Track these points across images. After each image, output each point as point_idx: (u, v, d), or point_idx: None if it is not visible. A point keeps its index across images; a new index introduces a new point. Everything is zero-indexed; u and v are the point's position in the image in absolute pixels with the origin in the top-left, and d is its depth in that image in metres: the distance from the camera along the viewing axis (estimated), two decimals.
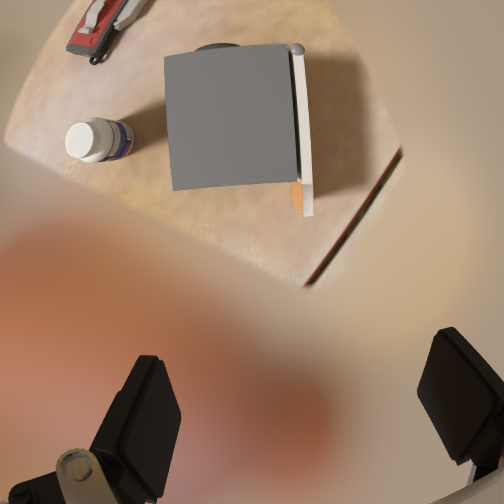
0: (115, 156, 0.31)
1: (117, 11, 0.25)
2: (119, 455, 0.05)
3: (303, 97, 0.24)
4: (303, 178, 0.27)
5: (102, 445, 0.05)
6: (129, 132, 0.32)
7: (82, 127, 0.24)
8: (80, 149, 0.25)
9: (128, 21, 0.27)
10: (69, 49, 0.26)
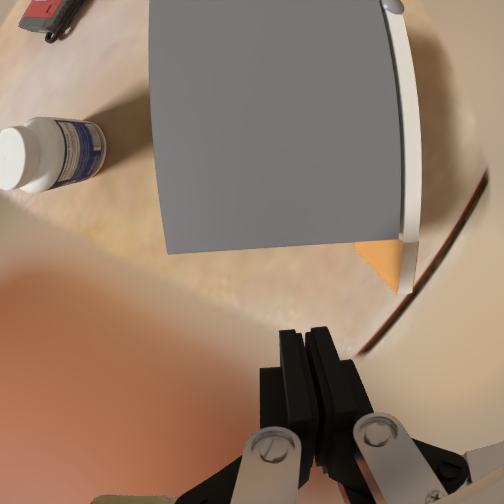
0: (75, 178, 0.18)
1: None
2: None
3: (410, 85, 0.11)
4: (406, 232, 0.14)
5: (298, 414, 0.06)
6: (98, 138, 0.19)
7: (10, 136, 0.11)
8: (9, 174, 0.12)
9: None
10: (21, 24, 0.14)
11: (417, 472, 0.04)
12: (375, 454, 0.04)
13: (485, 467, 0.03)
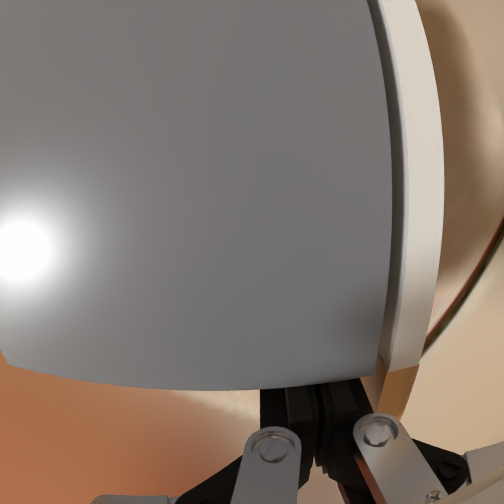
0: None
1: None
2: None
3: (413, 33, 0.04)
4: (396, 355, 0.07)
5: (299, 414, 0.06)
6: None
7: None
8: None
9: None
10: None
11: (417, 472, 0.04)
12: (375, 454, 0.04)
13: (485, 467, 0.03)
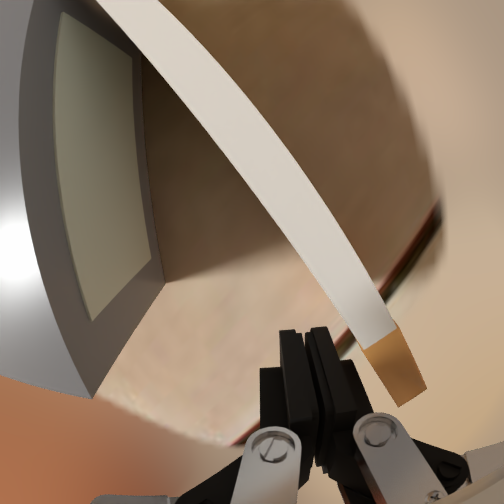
0: None
1: None
2: None
3: (163, 31, 0.04)
4: (359, 333, 0.06)
5: (298, 414, 0.06)
6: None
7: None
8: None
9: None
10: None
11: (417, 472, 0.04)
12: (375, 454, 0.04)
13: (484, 467, 0.03)
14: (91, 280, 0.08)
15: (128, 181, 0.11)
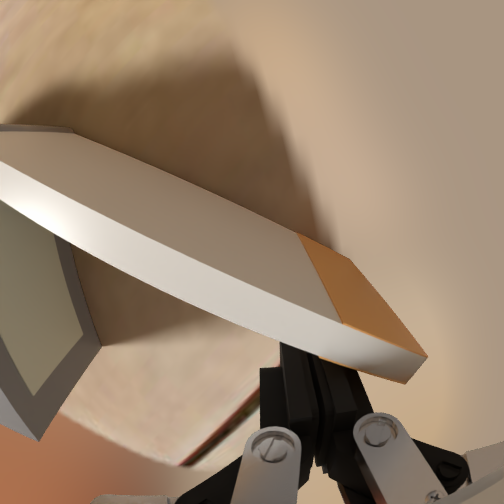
0: None
1: None
2: None
3: (20, 187, 0.05)
4: (303, 344, 0.06)
5: (298, 414, 0.06)
6: None
7: None
8: None
9: None
10: None
11: (417, 472, 0.04)
12: (375, 454, 0.04)
13: (485, 467, 0.03)
14: (30, 369, 0.10)
15: (52, 285, 0.13)
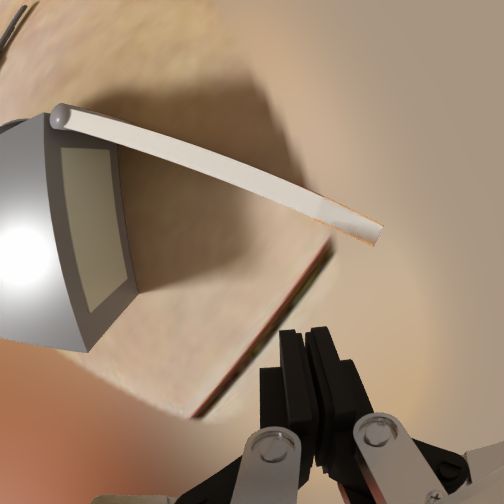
0: None
1: None
2: None
3: (140, 136, 0.12)
4: (304, 210, 0.12)
5: (298, 414, 0.06)
6: None
7: None
8: None
9: None
10: None
11: (417, 472, 0.04)
12: (375, 454, 0.04)
13: (485, 467, 0.03)
14: (90, 292, 0.16)
15: (111, 234, 0.19)
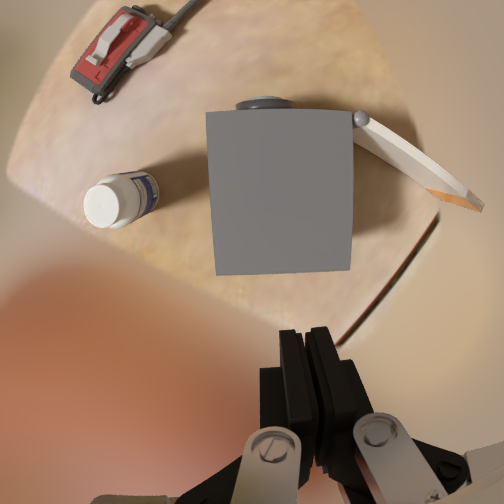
0: (140, 217, 0.30)
1: (133, 43, 0.24)
2: None
3: (409, 147, 0.22)
4: (462, 194, 0.23)
5: (298, 414, 0.06)
6: (155, 187, 0.31)
7: (104, 191, 0.23)
8: (103, 217, 0.23)
9: (143, 59, 0.26)
10: (73, 77, 0.25)
11: (417, 472, 0.04)
12: (375, 454, 0.04)
13: (485, 467, 0.03)
14: None
15: None
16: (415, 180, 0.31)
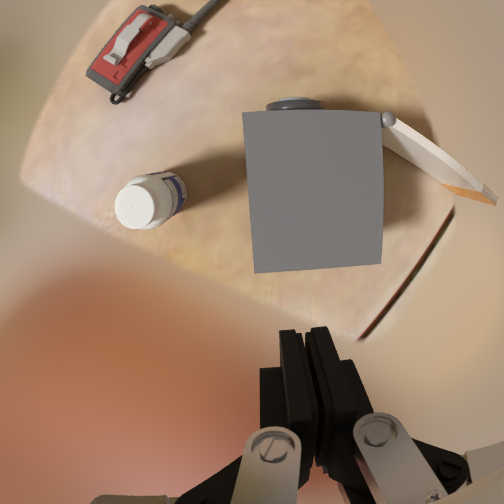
0: None
1: (152, 43, 0.25)
2: None
3: (431, 146, 0.22)
4: (478, 189, 0.23)
5: (298, 414, 0.06)
6: (183, 188, 0.31)
7: (138, 192, 0.23)
8: (137, 219, 0.24)
9: (162, 59, 0.27)
10: (89, 76, 0.26)
11: (417, 472, 0.04)
12: (375, 454, 0.04)
13: (485, 467, 0.03)
14: None
15: None
16: (432, 176, 0.31)
